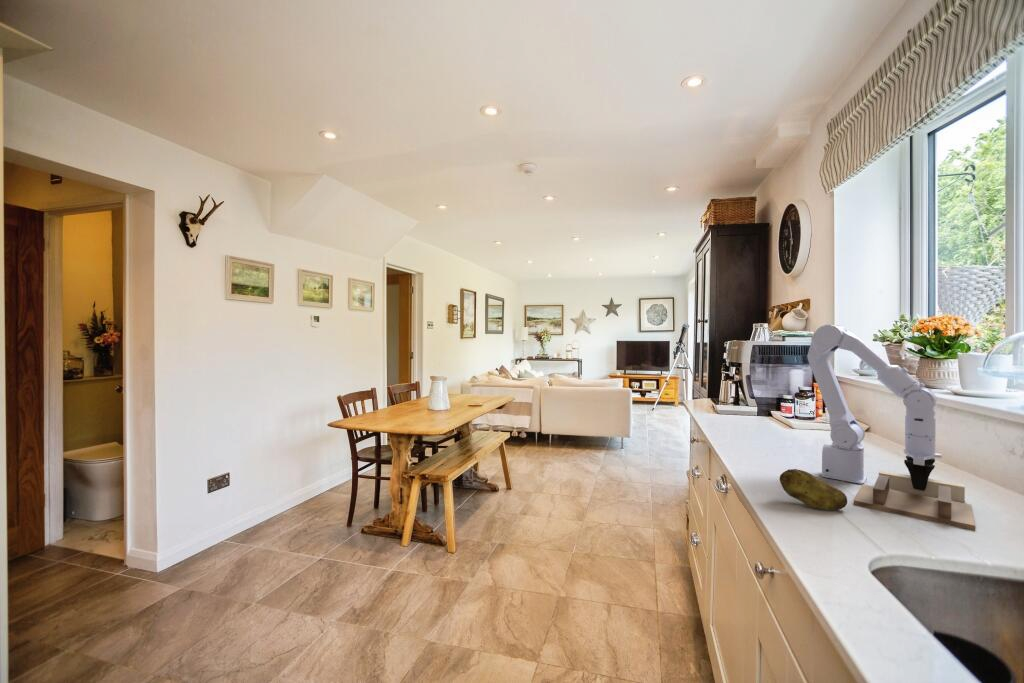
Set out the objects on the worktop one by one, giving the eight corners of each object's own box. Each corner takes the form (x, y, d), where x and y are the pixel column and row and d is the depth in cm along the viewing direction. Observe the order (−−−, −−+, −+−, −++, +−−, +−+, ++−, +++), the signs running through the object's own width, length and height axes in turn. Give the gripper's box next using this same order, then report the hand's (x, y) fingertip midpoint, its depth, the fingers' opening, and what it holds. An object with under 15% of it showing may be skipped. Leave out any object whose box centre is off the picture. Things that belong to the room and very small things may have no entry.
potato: (840, 519, 95) (840, 483, 95) (775, 502, 105) (775, 469, 105) (849, 509, 101) (849, 475, 101) (787, 494, 111) (787, 463, 111)
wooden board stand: (853, 504, 104) (853, 485, 104) (862, 487, 115) (862, 471, 115) (975, 530, 90) (975, 508, 90) (971, 508, 101) (971, 489, 101)
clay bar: (878, 487, 116) (878, 472, 116) (879, 484, 118) (879, 470, 118) (964, 503, 105) (964, 487, 105) (963, 500, 107) (964, 484, 107)
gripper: (941, 442, 103) (941, 498, 104) (941, 432, 114) (941, 484, 114) (902, 437, 108) (901, 491, 109) (905, 428, 119) (905, 477, 119)
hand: (919, 487), depth 112 cm, fingers open, 5 cm apart
